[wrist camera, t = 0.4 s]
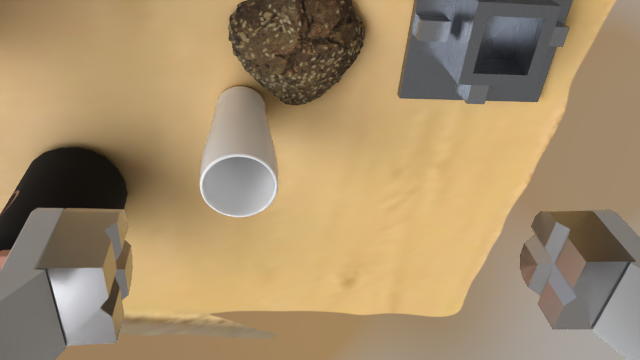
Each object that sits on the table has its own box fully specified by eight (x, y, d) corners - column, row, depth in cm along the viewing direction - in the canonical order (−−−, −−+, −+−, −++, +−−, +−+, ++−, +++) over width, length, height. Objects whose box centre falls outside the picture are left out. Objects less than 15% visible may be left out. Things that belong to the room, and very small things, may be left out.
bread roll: (286, 113, 59) (289, 135, 55) (210, 24, 53) (207, 42, 49) (384, 45, 56) (395, 63, 52) (317, -59, 50) (323, -47, 46)
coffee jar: (24, 136, 57) (-54, 250, 42) (129, 147, 59) (90, 260, 44) (33, 215, 63) (-33, 340, 48) (129, 223, 65) (94, 345, 50)
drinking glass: (257, 68, 56) (260, 142, 43) (281, 121, 59) (290, 203, 47) (197, 91, 56) (183, 170, 44) (225, 142, 60) (220, 228, 48)
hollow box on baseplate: (425, -63, 50) (445, -49, 45) (584, -52, 52) (619, -38, 47) (397, 94, 59) (411, 120, 54) (533, 98, 61) (558, 123, 56)
